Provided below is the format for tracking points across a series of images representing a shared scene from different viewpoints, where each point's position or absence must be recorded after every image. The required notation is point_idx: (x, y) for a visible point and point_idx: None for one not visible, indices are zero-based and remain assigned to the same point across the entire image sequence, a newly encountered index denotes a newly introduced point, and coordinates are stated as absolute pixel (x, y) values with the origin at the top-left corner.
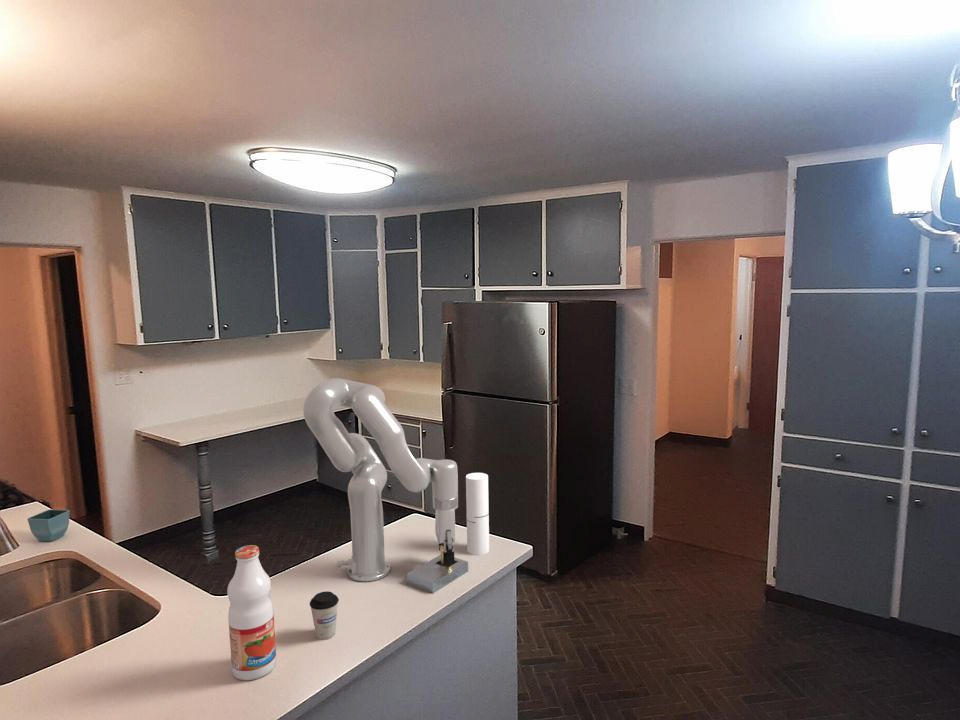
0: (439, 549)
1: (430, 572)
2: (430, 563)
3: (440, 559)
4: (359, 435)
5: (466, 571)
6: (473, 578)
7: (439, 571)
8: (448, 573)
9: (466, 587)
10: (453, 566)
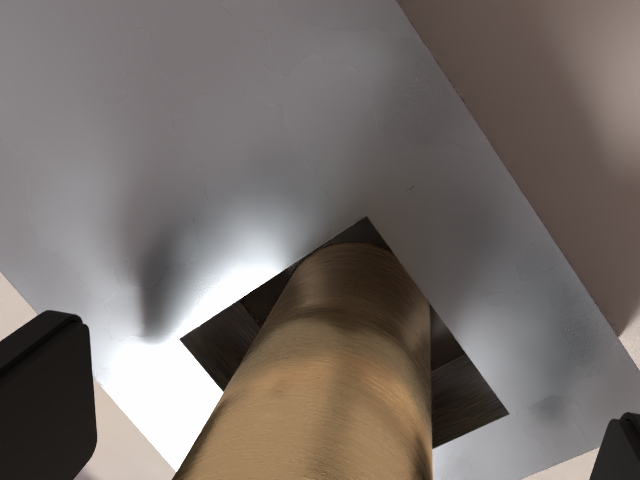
0: (636, 423)
1: (87, 73)
2: (388, 145)
3: (342, 321)
4: None
5: None
6: (154, 475)
7: (100, 208)
8: (31, 299)
9: None
10: (199, 409)
